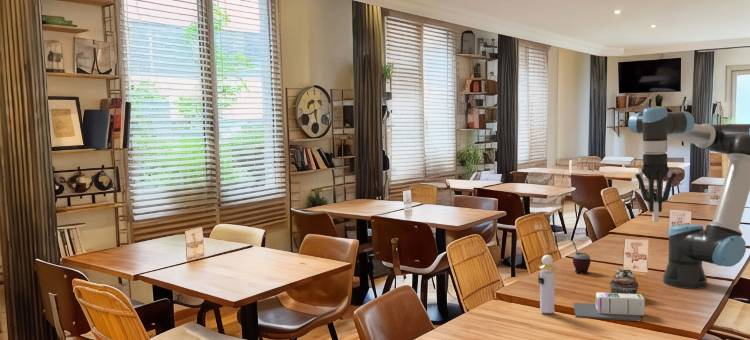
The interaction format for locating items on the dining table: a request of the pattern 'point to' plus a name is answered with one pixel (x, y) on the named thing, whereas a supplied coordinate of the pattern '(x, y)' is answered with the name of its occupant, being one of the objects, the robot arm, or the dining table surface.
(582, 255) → the mate gourd
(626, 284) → the cupcake
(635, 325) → the dining table surface
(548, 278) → the perfume bottle
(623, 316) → the topple mat
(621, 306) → the syrup box
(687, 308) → the dining table surface
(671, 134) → the robot arm
